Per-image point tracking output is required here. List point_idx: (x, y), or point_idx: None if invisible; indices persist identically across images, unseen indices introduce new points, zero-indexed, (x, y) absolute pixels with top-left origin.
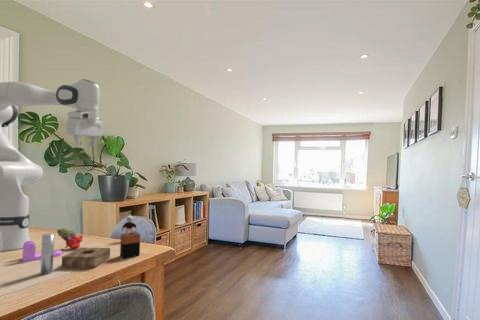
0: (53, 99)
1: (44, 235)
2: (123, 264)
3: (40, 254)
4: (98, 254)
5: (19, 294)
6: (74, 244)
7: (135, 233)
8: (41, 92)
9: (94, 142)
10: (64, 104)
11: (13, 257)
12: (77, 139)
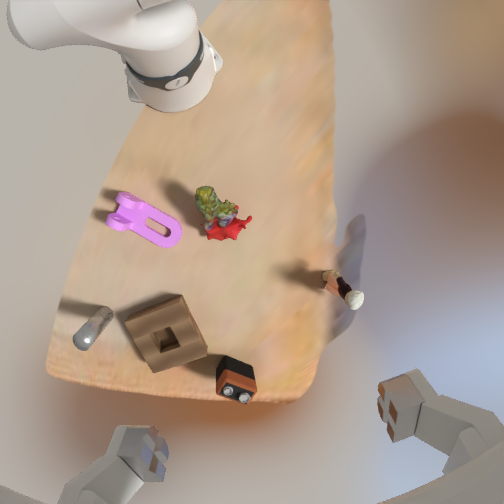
0: None
1: (75, 340)
2: (192, 388)
3: (145, 218)
4: (165, 368)
5: (61, 348)
6: (213, 236)
7: (242, 399)
8: None
9: (421, 430)
10: None
11: (125, 168)
12: (104, 494)
